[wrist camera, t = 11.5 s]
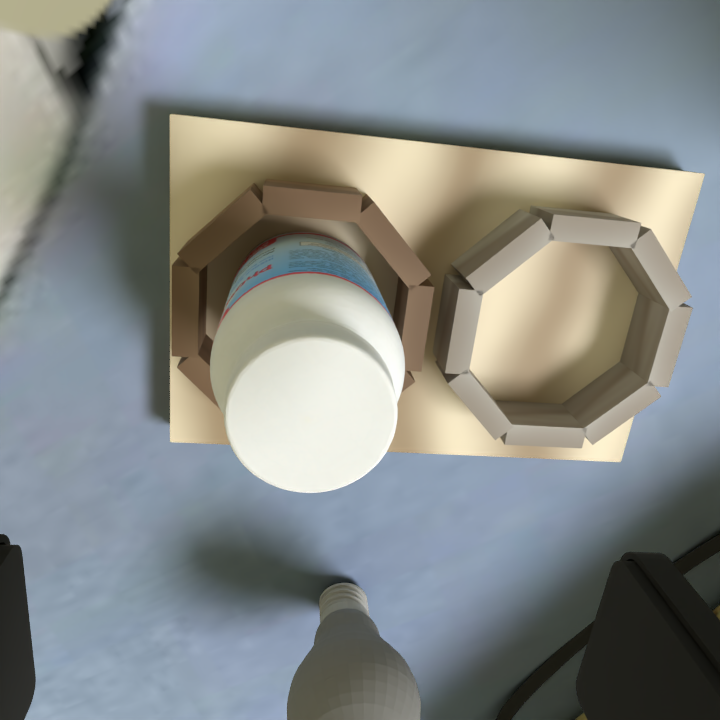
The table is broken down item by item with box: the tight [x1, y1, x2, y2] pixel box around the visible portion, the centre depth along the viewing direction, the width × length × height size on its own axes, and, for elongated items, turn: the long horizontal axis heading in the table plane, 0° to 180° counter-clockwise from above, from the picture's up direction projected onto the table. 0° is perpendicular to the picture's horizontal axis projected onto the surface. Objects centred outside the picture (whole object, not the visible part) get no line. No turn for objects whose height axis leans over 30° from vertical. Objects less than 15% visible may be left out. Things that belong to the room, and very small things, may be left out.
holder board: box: [170, 114, 705, 462], centre depth 27 cm, size 22×14×4 cm, turn 84°
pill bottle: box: [210, 232, 405, 493], centre depth 22 cm, size 6×6×11 cm
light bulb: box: [287, 583, 421, 720], centre depth 30 cm, size 6×6×10 cm
